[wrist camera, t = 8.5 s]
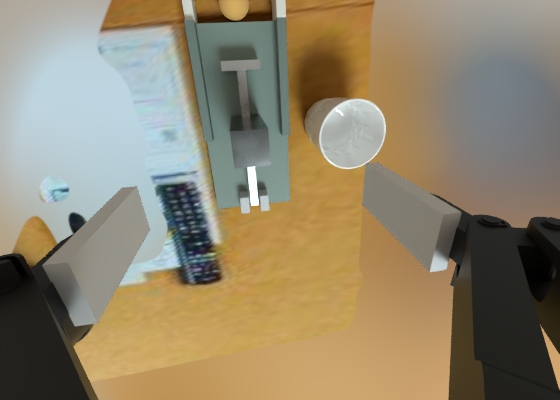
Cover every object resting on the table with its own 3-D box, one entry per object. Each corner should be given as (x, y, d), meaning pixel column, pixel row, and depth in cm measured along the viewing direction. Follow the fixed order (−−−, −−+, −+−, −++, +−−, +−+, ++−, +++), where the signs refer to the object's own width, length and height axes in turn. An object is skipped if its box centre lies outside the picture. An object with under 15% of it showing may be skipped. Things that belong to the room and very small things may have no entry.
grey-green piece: (219, 203, 42) (216, 221, 37) (178, -44, 29) (165, -70, 24) (287, 195, 43) (294, 211, 38) (277, -44, 30) (286, -70, 25)
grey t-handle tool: (239, 201, 40) (240, 243, 30) (221, 62, 32) (214, 55, 22) (268, 198, 40) (279, 238, 30) (258, 60, 32) (267, 53, 22)
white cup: (340, 154, 41) (369, 175, 33) (293, 141, 40) (309, 160, 31) (360, 102, 39) (397, 110, 30) (310, 86, 37) (333, 89, 28)
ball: (217, -8, 31) (221, 26, 32) (214, -25, 28) (219, 13, 29) (247, -8, 32) (250, 25, 32) (248, -26, 28) (251, 12, 29)
